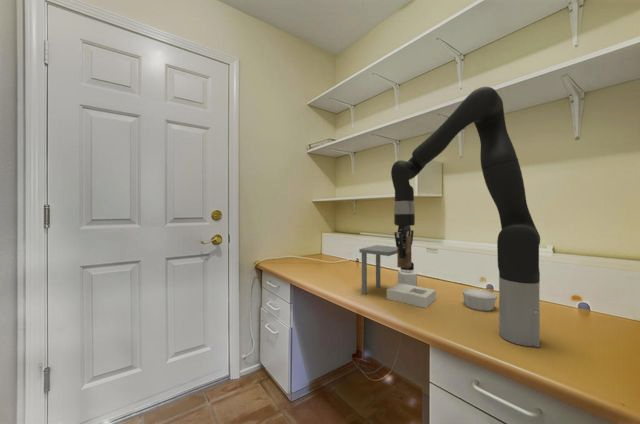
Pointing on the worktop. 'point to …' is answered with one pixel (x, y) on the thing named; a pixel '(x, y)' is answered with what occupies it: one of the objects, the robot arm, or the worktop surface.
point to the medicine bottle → (407, 276)
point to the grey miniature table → (378, 251)
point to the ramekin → (479, 299)
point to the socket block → (411, 295)
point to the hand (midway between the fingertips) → (404, 257)
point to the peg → (407, 260)
